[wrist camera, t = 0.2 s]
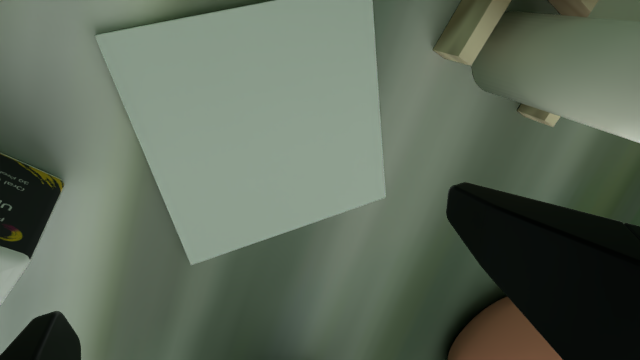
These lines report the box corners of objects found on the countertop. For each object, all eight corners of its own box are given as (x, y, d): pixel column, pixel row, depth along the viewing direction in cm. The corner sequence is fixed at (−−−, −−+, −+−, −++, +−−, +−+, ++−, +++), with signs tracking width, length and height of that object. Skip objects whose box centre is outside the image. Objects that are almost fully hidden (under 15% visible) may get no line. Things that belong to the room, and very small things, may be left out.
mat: (383, 195, 28) (385, 197, 28) (190, 261, 25) (191, 265, 24) (367, -18, 21) (371, -18, 21) (95, 34, 18) (94, 35, 17)
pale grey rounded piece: (503, 104, 28) (690, 171, 18) (457, 72, 26) (648, 129, 16) (568, 5, 27) (815, 20, 17) (526, -42, 24) (791, -57, 14)
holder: (525, 116, 30) (553, 127, 28) (432, 49, 24) (458, 56, 22) (591, 19, 28) (626, 22, 26) (507, -78, 22) (542, -84, 20)
